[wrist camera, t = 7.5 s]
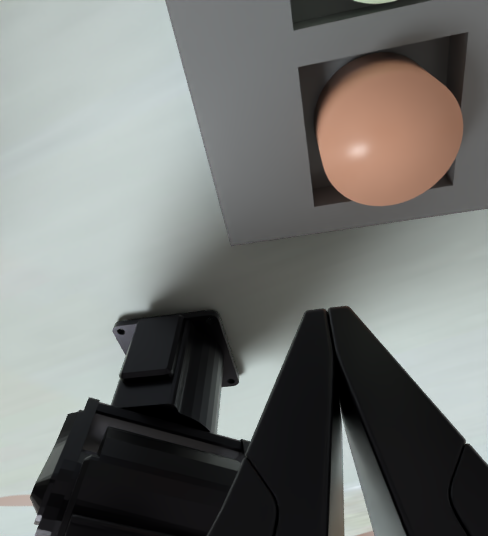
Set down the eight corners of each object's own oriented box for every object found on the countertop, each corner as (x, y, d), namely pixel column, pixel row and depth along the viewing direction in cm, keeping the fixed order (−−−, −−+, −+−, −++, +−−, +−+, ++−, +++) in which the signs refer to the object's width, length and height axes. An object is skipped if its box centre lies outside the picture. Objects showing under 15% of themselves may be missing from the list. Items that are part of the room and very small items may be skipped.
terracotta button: (430, 161, 18) (456, 195, 15) (319, 179, 18) (327, 214, 16) (438, 39, 15) (471, 57, 13) (307, 66, 16) (314, 88, 13)
